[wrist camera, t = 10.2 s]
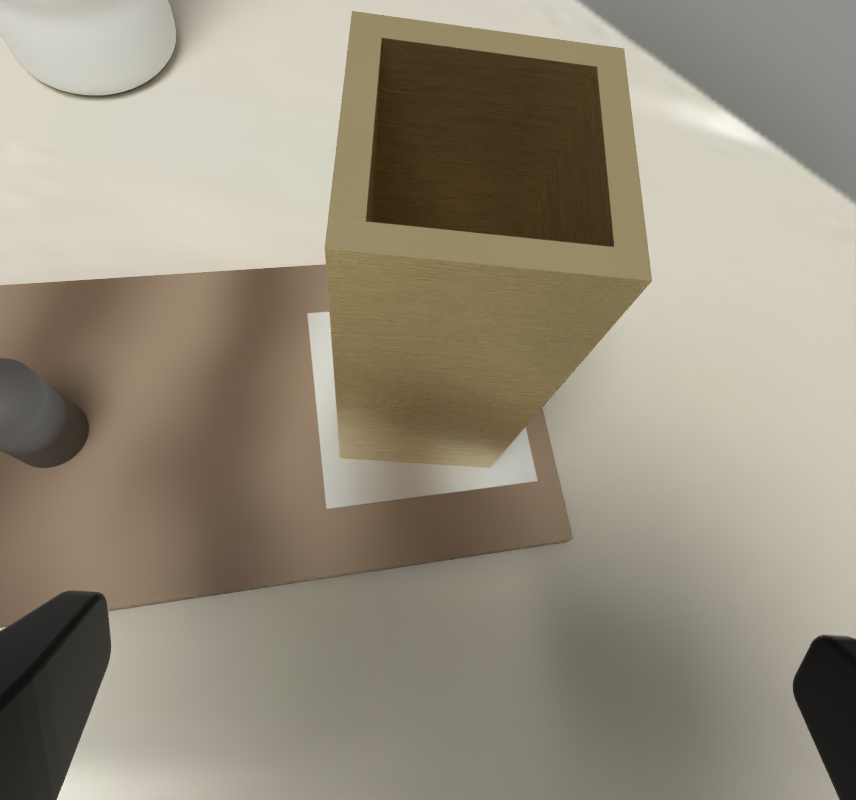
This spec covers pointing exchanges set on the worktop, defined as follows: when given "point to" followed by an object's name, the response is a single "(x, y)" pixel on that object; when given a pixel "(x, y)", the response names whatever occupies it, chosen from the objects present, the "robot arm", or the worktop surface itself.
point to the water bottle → (89, 41)
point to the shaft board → (217, 449)
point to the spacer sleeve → (474, 233)
